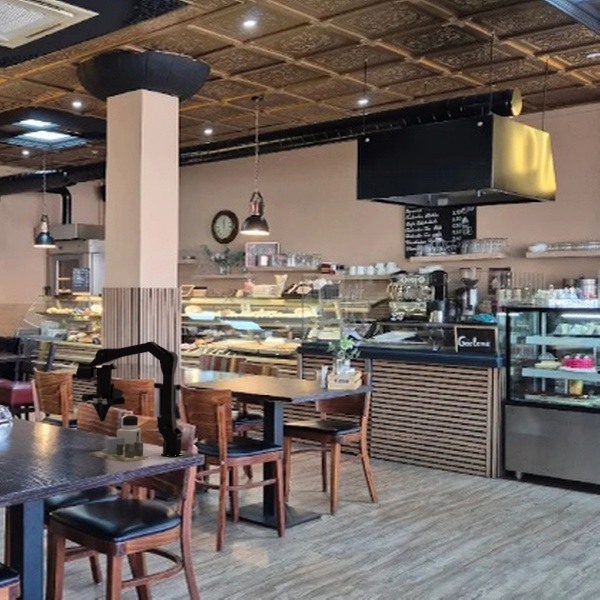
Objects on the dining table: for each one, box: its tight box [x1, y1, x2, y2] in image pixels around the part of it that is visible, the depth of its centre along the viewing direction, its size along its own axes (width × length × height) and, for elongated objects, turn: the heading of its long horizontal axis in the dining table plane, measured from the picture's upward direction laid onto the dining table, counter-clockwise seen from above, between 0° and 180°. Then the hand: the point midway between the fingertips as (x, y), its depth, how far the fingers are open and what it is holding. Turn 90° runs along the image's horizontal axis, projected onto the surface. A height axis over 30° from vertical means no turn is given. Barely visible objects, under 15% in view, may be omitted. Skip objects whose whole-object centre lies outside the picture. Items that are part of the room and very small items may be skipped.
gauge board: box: [89, 442, 149, 463], centre depth 299 cm, size 20×11×6 cm, turn 55°
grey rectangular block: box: [101, 437, 125, 454], centre depth 298 cm, size 8×9×6 cm
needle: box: [117, 444, 123, 456], centre depth 292 cm, size 2×2×4 cm
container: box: [116, 414, 142, 448], centre depth 319 cm, size 8×8×13 cm
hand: (102, 421), depth 308 cm, fingers closed
